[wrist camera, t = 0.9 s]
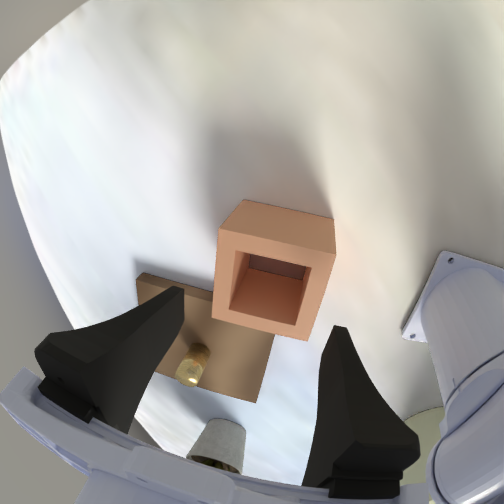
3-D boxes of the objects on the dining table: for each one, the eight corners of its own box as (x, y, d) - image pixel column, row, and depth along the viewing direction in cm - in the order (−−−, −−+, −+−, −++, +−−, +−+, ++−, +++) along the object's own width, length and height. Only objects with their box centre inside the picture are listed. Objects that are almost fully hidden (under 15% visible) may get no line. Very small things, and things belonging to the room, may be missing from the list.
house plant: (150, 404, 36) (99, 495, 21) (209, 381, 29) (149, 514, 15) (223, 452, 38) (191, 537, 24) (292, 439, 32) (266, 551, 18)
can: (400, 412, 26) (404, 509, 15) (471, 399, 23) (488, 487, 13) (388, 446, 29) (386, 524, 19) (449, 436, 27) (457, 509, 16)
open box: (333, 219, 18) (336, 254, 14) (312, 294, 21) (307, 341, 17) (243, 199, 19) (218, 228, 15) (233, 275, 22) (211, 317, 18)
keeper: (281, 309, 23) (270, 352, 18) (258, 394, 28) (247, 430, 24) (142, 272, 24) (112, 303, 20) (153, 361, 30) (134, 392, 26)
